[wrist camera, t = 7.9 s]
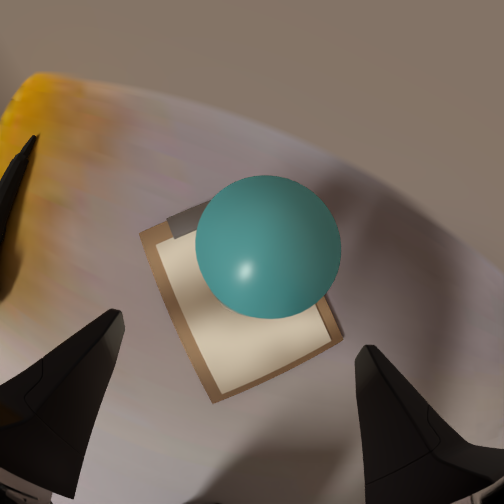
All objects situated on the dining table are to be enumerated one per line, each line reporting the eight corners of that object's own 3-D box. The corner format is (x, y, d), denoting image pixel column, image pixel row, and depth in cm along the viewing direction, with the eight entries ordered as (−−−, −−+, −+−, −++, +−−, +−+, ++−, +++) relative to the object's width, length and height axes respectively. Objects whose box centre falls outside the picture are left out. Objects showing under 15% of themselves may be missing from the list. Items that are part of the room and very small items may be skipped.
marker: (277, 284, 20) (364, 234, 7) (244, 326, 19) (285, 349, 6) (236, 252, 20) (257, 151, 7) (203, 292, 19) (164, 252, 7)
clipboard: (341, 339, 20) (347, 340, 19) (212, 402, 18) (212, 406, 17) (266, 183, 22) (268, 177, 21) (140, 234, 20) (136, 230, 19)
